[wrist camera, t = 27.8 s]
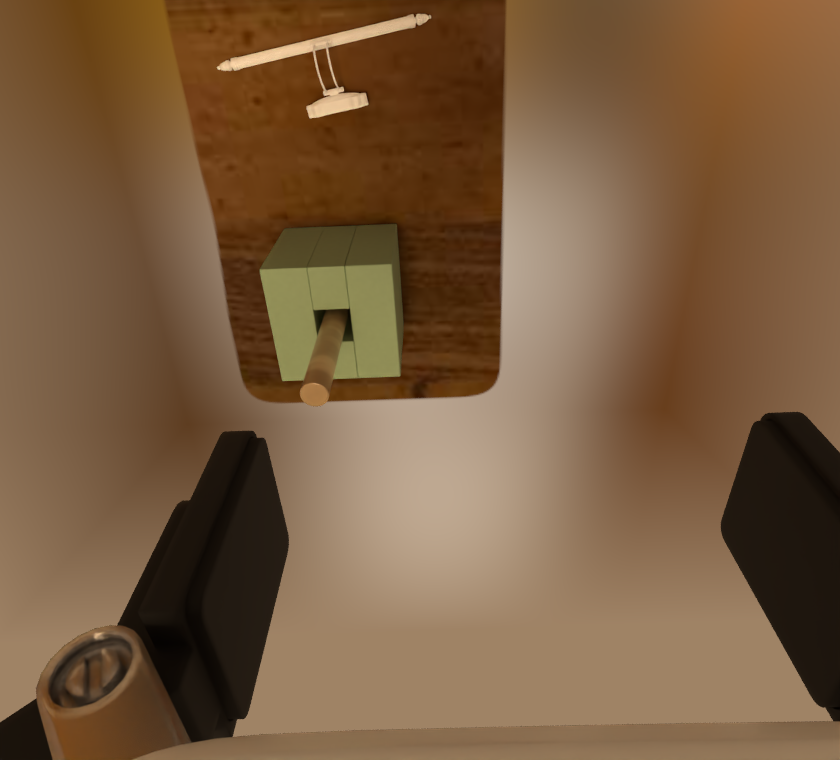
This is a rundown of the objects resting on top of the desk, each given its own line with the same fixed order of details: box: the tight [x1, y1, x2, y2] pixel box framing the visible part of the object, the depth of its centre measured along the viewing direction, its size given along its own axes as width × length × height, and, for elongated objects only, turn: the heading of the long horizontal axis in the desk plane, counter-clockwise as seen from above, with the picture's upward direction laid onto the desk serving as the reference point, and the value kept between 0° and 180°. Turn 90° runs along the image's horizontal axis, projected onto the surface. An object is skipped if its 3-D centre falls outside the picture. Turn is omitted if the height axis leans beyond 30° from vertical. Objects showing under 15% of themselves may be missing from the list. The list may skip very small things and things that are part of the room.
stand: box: [260, 224, 404, 381], centre depth 43 cm, size 8×8×8 cm
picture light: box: [217, 14, 431, 118], centre depth 37 cm, size 14×4×2 cm, turn 102°
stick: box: [300, 308, 350, 406], centre depth 39 cm, size 2×2×16 cm
